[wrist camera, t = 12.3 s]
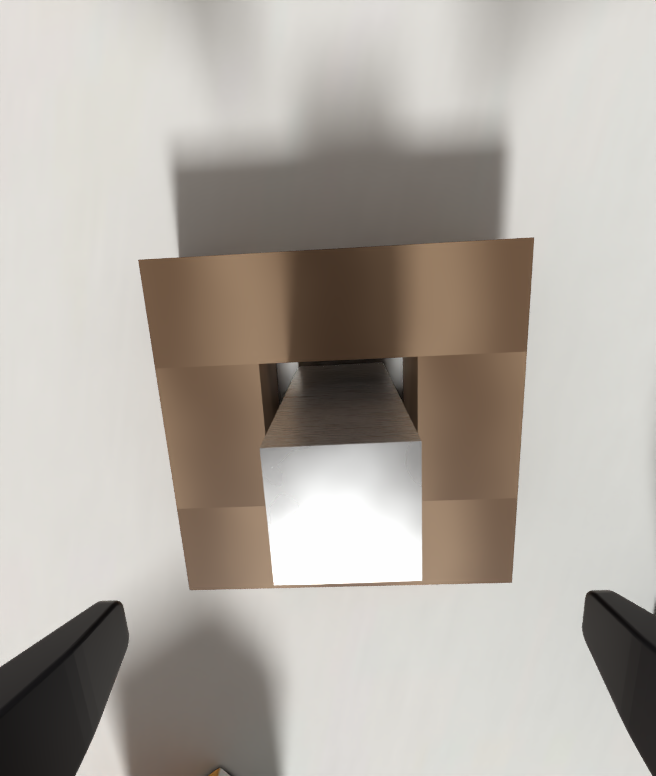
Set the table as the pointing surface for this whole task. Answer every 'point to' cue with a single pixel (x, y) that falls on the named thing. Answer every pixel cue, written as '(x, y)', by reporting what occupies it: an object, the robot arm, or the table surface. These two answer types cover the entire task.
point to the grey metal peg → (343, 480)
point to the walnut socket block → (344, 342)
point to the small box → (219, 773)
